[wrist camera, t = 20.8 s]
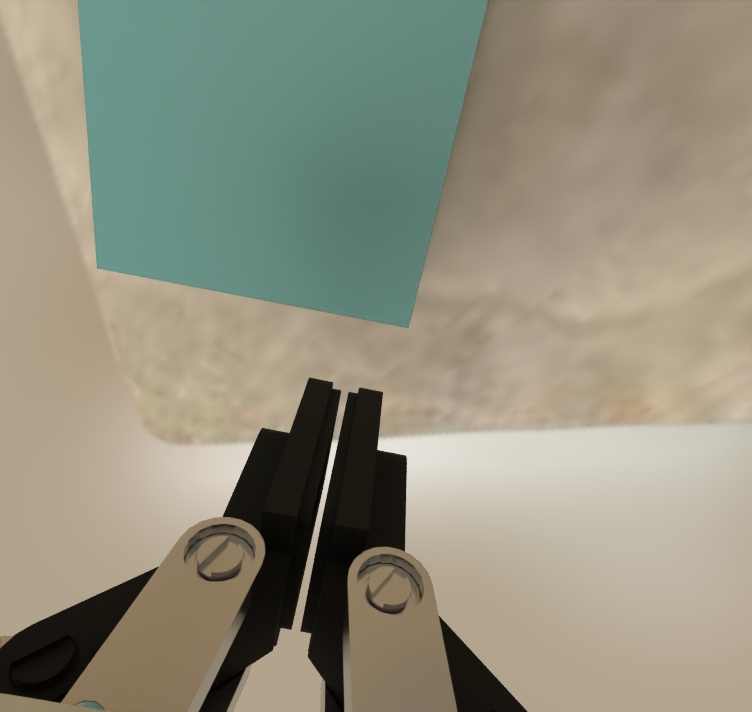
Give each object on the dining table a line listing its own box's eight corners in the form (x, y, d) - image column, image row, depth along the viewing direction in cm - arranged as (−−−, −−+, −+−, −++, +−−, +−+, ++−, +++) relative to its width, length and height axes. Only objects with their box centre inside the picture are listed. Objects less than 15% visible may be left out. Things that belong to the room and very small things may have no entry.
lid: (518, -136, 19) (523, -146, 18) (408, 319, 27) (408, 327, 27) (76, -243, 18) (59, -259, 17) (107, 262, 27) (97, 268, 26)
